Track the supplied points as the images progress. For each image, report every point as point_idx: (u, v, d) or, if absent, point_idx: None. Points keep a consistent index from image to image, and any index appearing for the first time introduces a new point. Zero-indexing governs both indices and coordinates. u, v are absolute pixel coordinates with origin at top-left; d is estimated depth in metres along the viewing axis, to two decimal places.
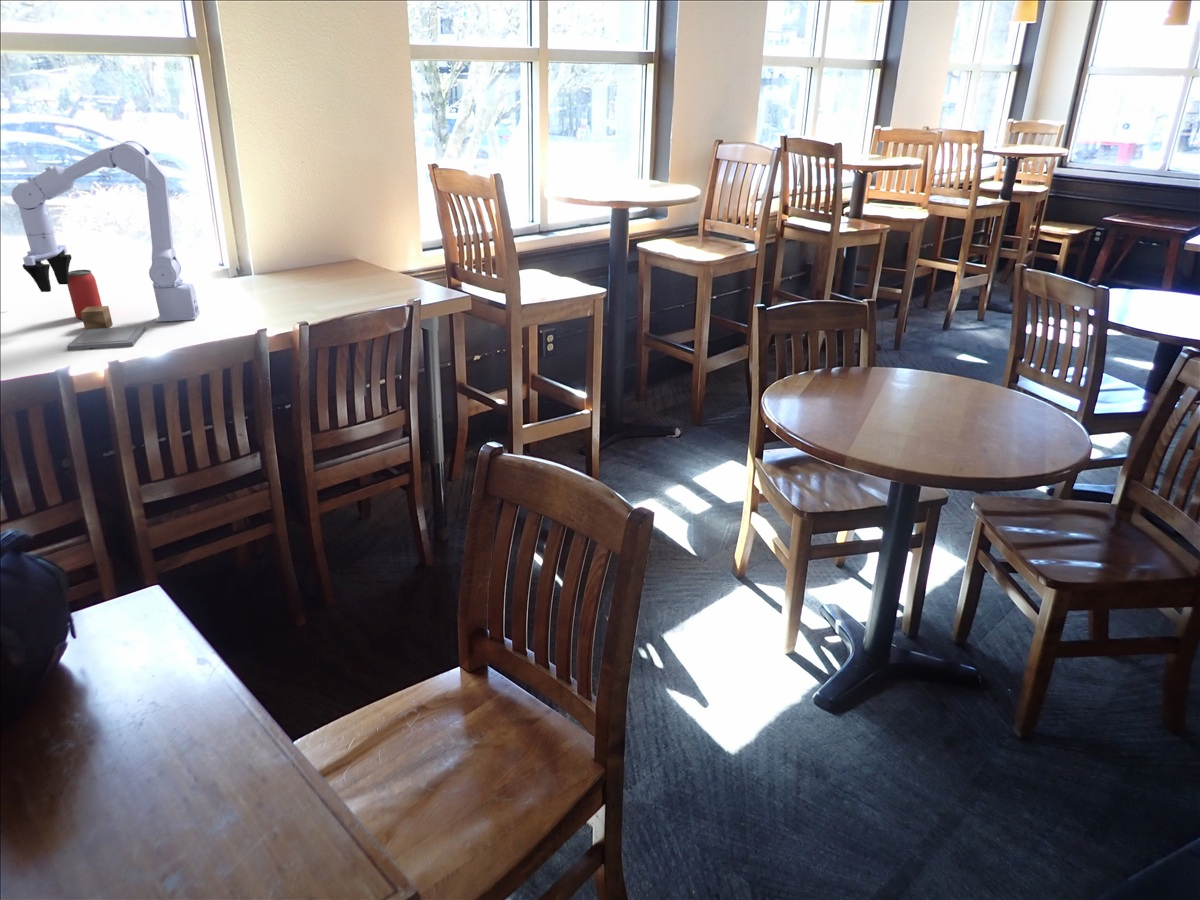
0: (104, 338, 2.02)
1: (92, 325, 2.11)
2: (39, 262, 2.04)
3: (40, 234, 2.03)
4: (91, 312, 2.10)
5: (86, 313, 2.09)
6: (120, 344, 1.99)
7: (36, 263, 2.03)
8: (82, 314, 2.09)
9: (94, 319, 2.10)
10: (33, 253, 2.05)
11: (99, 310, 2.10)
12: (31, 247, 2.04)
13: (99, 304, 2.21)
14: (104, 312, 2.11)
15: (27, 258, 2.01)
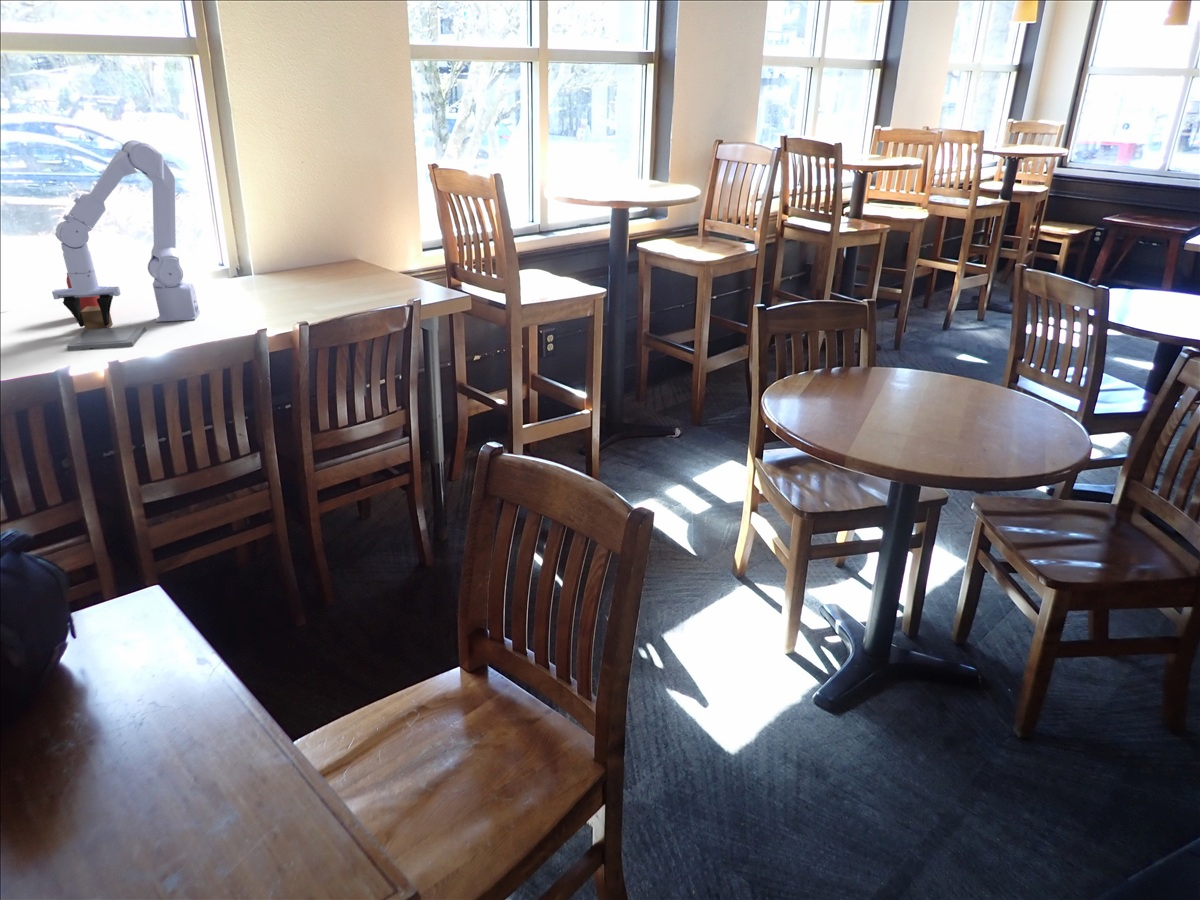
0: (104, 338, 2.02)
1: (92, 325, 2.11)
2: (66, 298, 2.06)
3: (68, 272, 2.03)
4: (91, 312, 2.09)
5: (86, 313, 2.09)
6: (120, 344, 1.99)
7: None
8: (82, 314, 2.09)
9: (94, 319, 2.10)
10: None
11: (99, 310, 2.10)
12: None
13: None
14: None
15: None
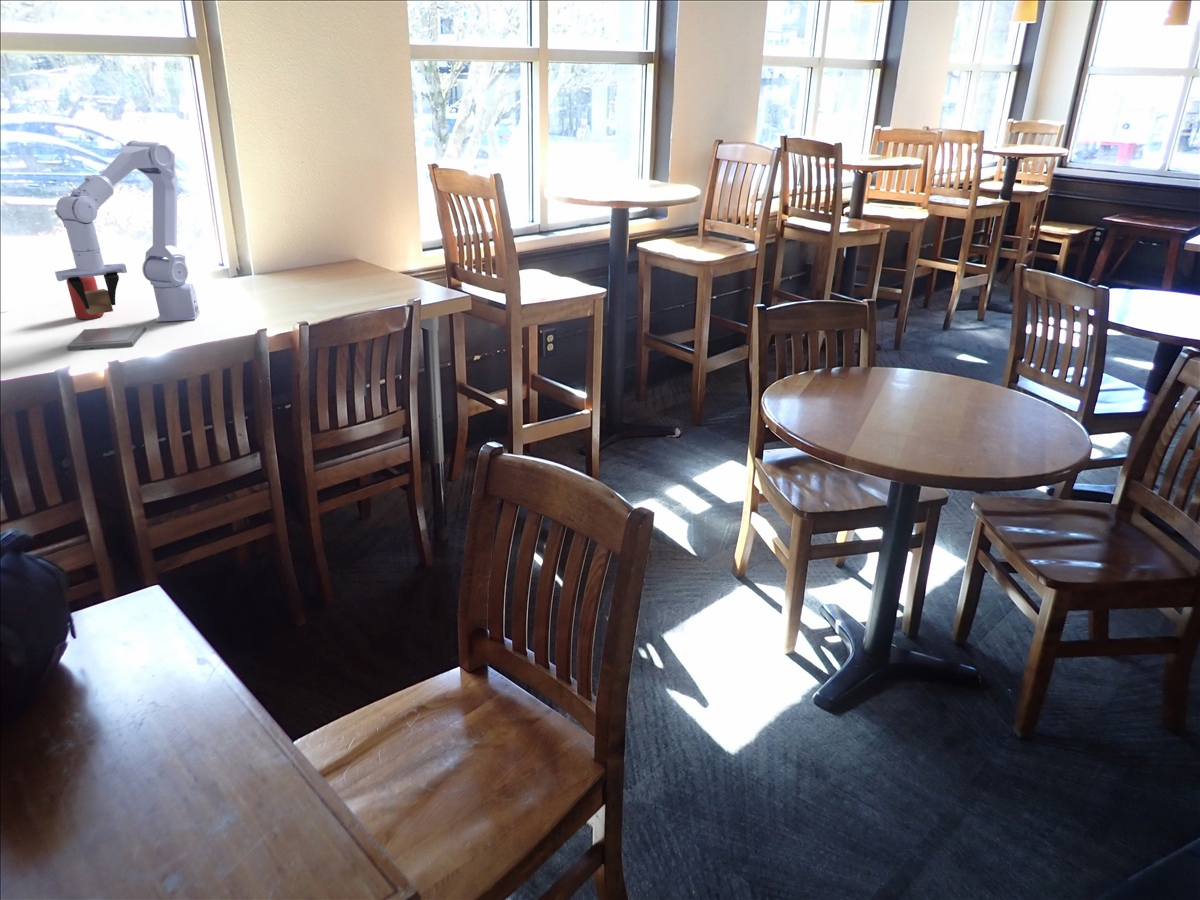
0: (104, 338, 2.02)
1: (97, 307, 2.01)
2: (71, 279, 1.95)
3: (75, 251, 1.93)
4: (96, 293, 2.00)
5: (91, 294, 2.00)
6: (120, 344, 1.99)
7: (66, 279, 1.94)
8: (86, 296, 1.99)
9: (99, 300, 2.01)
10: (76, 268, 1.96)
11: (102, 291, 2.02)
12: None
13: None
14: None
15: (55, 273, 1.93)
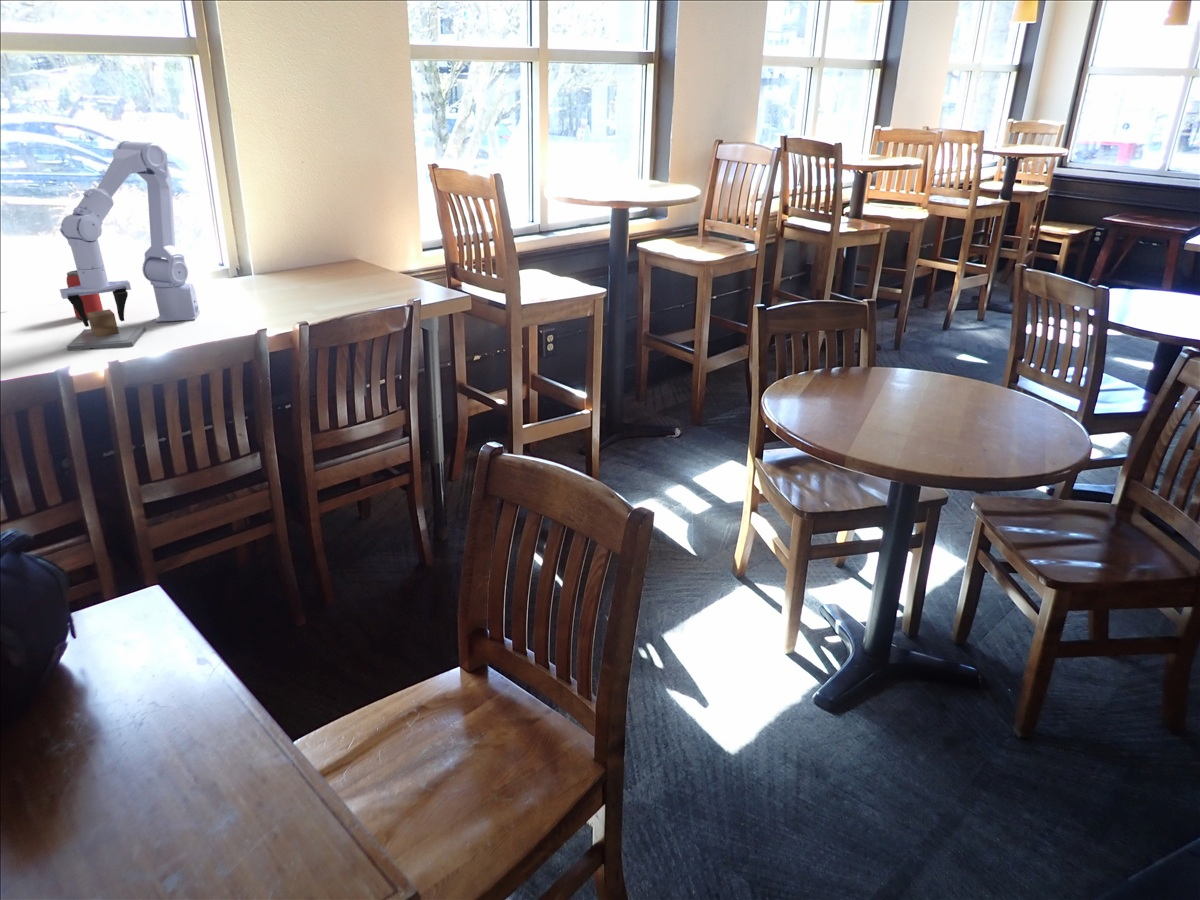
0: (104, 338, 2.02)
1: (103, 330, 2.03)
2: (76, 296, 1.97)
3: (80, 269, 1.95)
4: (102, 316, 2.02)
5: (97, 318, 2.01)
6: (120, 344, 1.99)
7: (70, 297, 1.96)
8: (93, 319, 2.01)
9: (105, 323, 2.03)
10: (81, 286, 1.98)
11: (109, 313, 2.03)
12: None
13: (99, 304, 2.21)
14: (113, 315, 2.05)
15: (60, 291, 1.95)
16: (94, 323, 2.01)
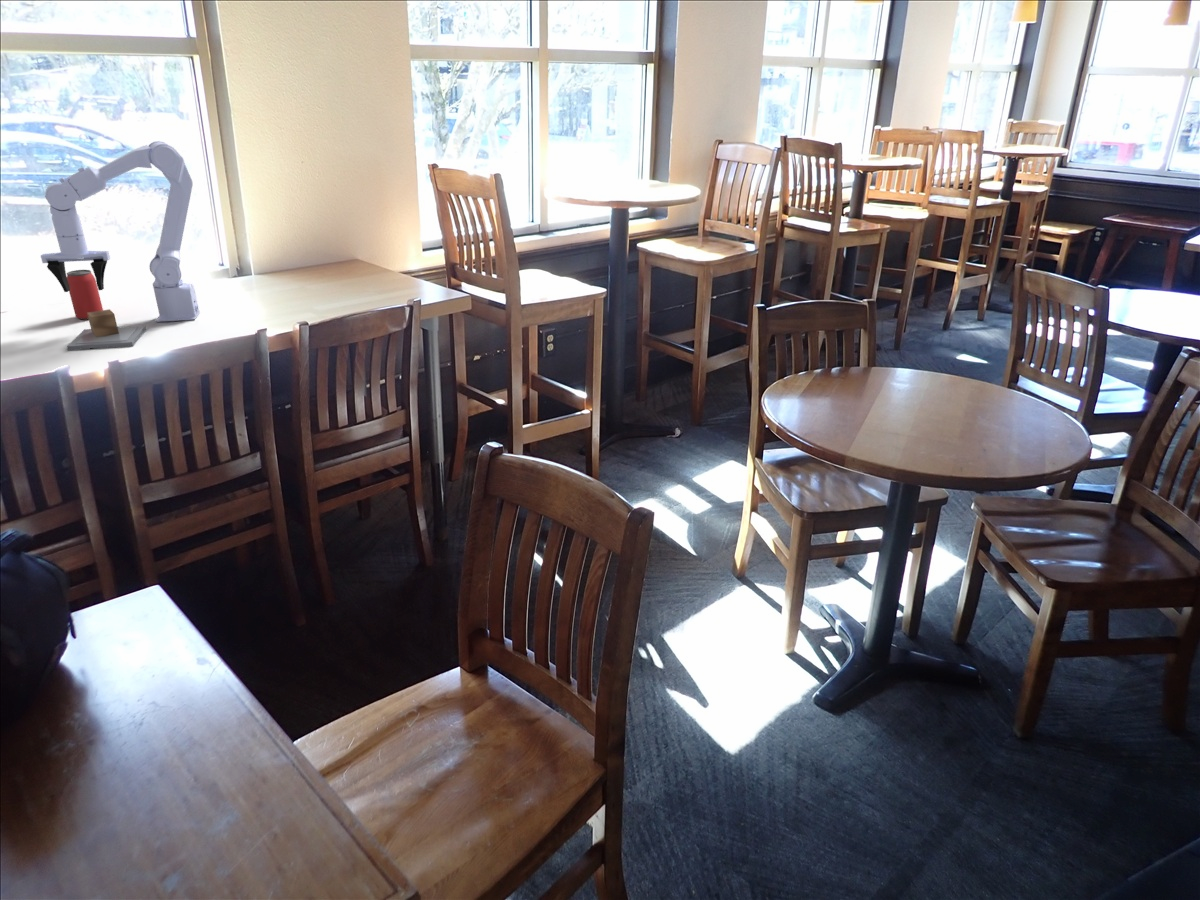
0: (104, 338, 2.02)
1: (103, 330, 2.03)
2: (55, 262, 2.04)
3: (57, 236, 2.01)
4: (102, 316, 2.02)
5: (97, 318, 2.01)
6: (120, 344, 1.99)
7: (50, 262, 2.04)
8: (93, 319, 2.01)
9: (105, 323, 2.03)
10: None
11: (109, 313, 2.03)
12: None
13: (99, 304, 2.21)
14: (113, 315, 2.05)
15: None
16: (94, 323, 2.01)
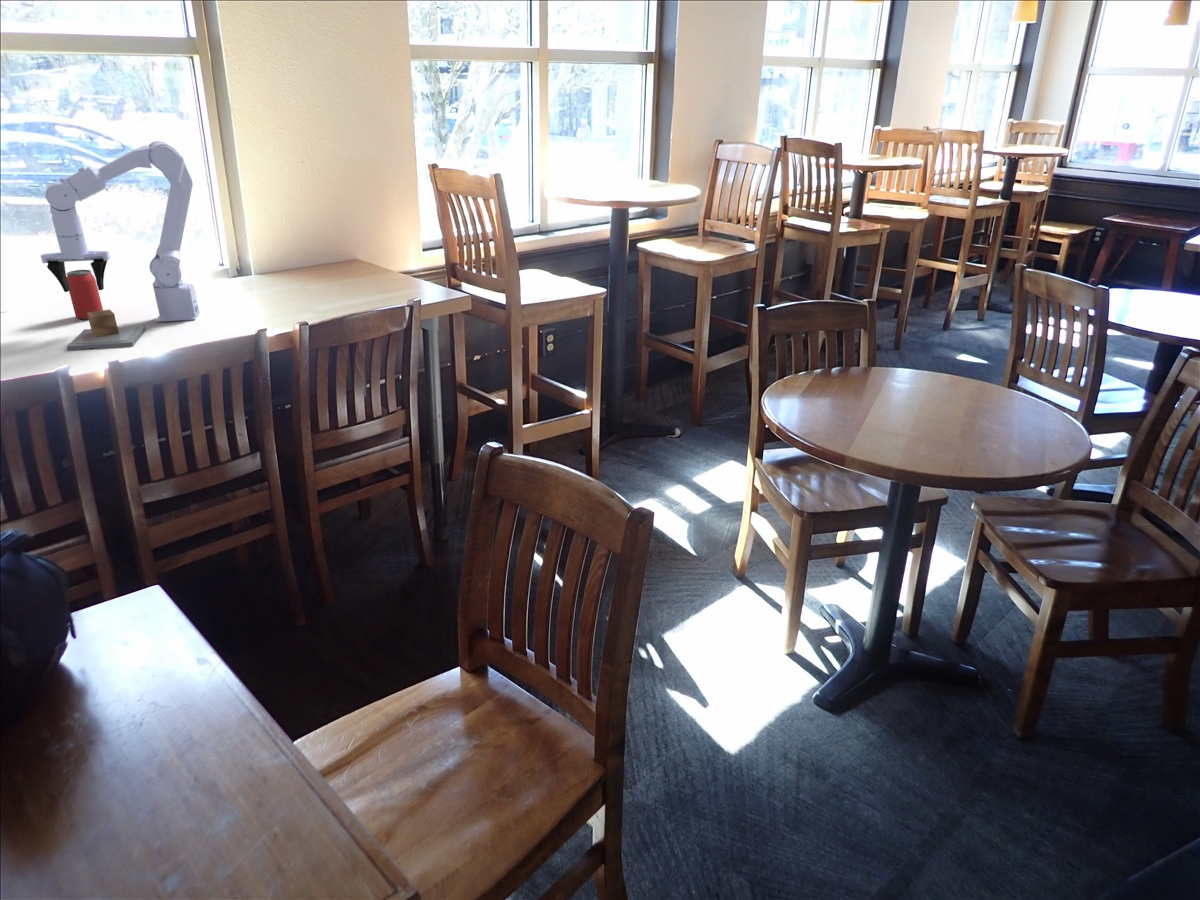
0: (104, 338, 2.02)
1: (103, 330, 2.03)
2: (55, 262, 2.04)
3: (57, 236, 2.01)
4: (102, 316, 2.02)
5: (97, 318, 2.01)
6: (120, 344, 1.99)
7: (50, 262, 2.04)
8: (93, 319, 2.01)
9: (105, 323, 2.03)
10: None
11: (109, 313, 2.03)
12: None
13: (99, 304, 2.21)
14: (113, 315, 2.05)
15: None
16: (94, 323, 2.01)
